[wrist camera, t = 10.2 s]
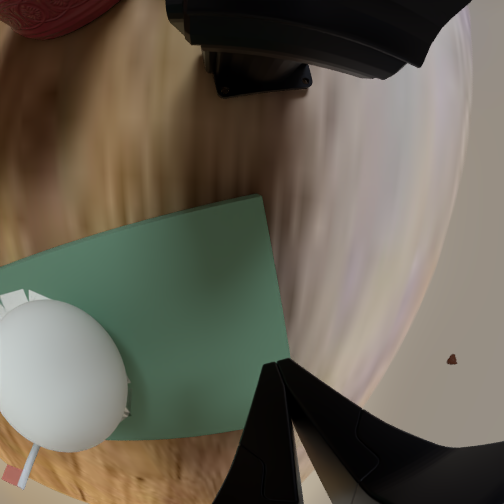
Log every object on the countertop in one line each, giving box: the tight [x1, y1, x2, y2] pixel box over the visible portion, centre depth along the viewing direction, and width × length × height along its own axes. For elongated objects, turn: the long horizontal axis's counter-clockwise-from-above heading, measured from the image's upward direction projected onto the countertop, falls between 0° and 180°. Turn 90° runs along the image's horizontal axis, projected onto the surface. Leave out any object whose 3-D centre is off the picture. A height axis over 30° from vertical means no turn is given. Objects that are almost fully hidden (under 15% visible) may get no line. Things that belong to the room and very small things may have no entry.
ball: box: [0, 299, 128, 452], centre depth 13 cm, size 10×10×10 cm
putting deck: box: [0, 194, 291, 490], centre depth 15 cm, size 32×20×12 cm, turn 101°
